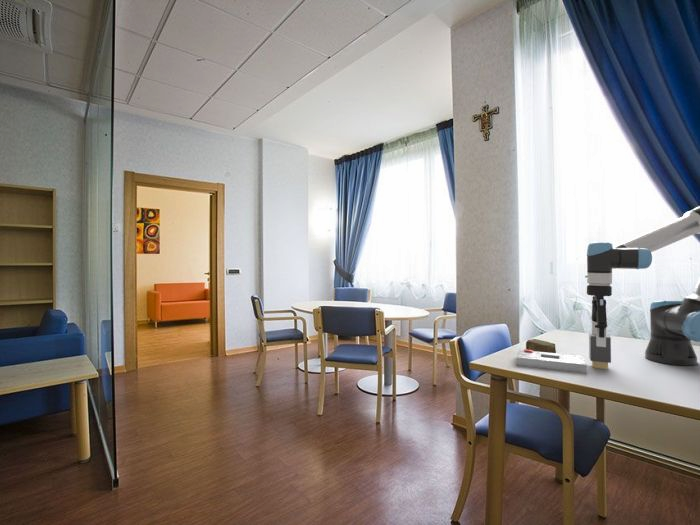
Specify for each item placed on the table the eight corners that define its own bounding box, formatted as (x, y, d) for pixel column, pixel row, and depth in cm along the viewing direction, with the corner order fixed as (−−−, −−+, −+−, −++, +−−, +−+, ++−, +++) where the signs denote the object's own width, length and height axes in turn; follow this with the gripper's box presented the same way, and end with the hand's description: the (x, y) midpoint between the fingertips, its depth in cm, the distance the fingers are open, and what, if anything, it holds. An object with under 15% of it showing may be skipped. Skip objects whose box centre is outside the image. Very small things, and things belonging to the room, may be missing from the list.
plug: (608, 366, 133) (608, 335, 133) (611, 369, 129) (610, 337, 129) (589, 364, 136) (589, 333, 136) (590, 367, 132) (590, 336, 132)
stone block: (535, 349, 160) (535, 338, 160) (557, 355, 149) (557, 343, 149) (524, 350, 158) (524, 339, 158) (546, 357, 147) (546, 345, 147)
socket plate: (583, 363, 137) (583, 354, 137) (586, 373, 125) (586, 362, 125) (518, 357, 147) (518, 348, 147) (516, 365, 136) (516, 355, 136)
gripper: (583, 282, 145) (583, 335, 145) (590, 286, 123) (590, 348, 123) (606, 283, 142) (605, 337, 142) (617, 287, 120) (617, 351, 120)
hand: (598, 342), depth 133 cm, fingers open, 13 cm apart
